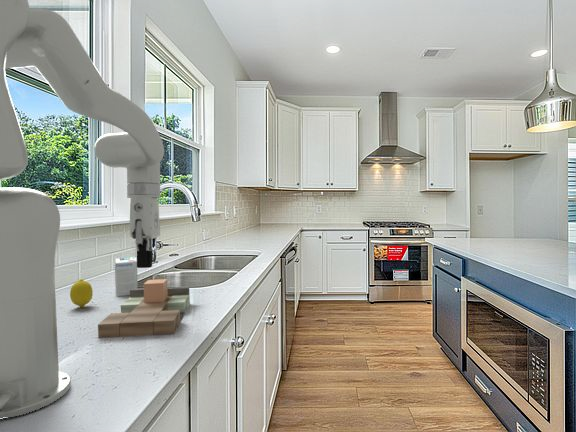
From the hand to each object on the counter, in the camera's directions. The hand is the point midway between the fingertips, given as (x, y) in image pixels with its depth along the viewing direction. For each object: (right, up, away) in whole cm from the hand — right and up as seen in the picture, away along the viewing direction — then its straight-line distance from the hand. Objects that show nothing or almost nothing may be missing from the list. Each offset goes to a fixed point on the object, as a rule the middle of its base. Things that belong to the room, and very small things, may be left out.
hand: (144, 267), depth 89 cm
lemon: (-23, -14, +15) cm, 31 cm away
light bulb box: (-19, -13, +32) cm, 39 cm away
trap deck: (0, -14, +3) cm, 14 cm away
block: (-1, -10, +10) cm, 14 cm away
